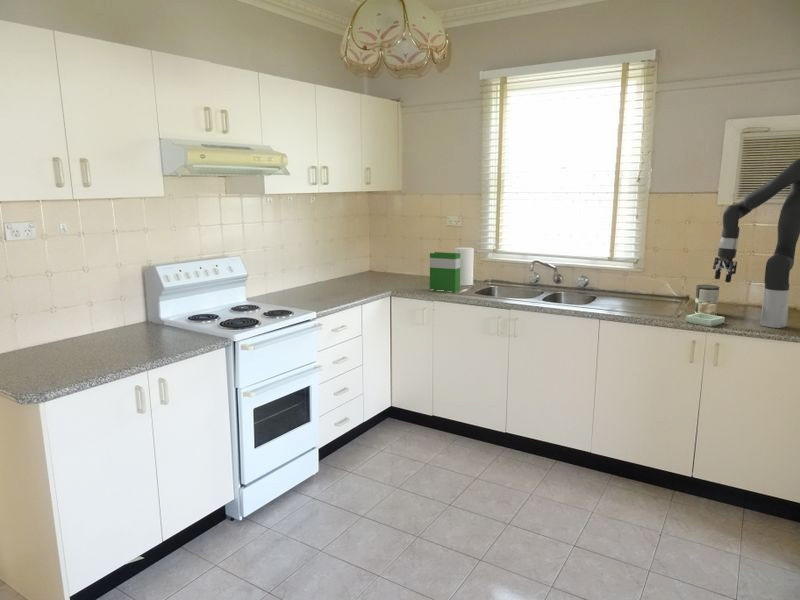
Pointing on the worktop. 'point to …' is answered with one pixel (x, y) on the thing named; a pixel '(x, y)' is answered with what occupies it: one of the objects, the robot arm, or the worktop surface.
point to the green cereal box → (445, 271)
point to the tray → (704, 319)
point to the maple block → (707, 308)
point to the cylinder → (466, 265)
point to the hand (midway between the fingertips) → (722, 280)
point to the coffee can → (706, 296)
